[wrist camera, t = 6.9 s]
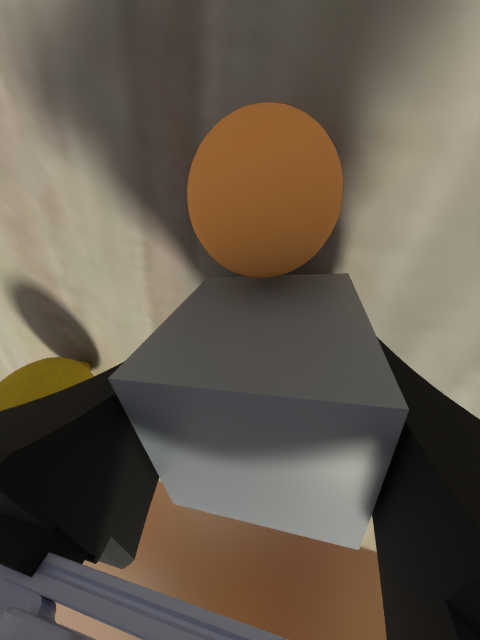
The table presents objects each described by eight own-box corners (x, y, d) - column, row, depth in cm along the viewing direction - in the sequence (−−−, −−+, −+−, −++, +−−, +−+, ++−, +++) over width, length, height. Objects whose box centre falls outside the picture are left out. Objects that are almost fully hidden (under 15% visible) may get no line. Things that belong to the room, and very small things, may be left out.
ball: (334, 276, 10) (336, 146, 9) (353, 270, 5) (362, 3, 4) (223, 281, 11) (218, 169, 11) (160, 280, 7) (143, 80, 6)
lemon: (46, 331, 19) (-95, 419, 12) (107, 343, 18) (-10, 446, 11) (71, 380, 22) (-32, 471, 15) (124, 393, 21) (40, 496, 14)
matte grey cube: (348, 273, 9) (408, 409, 4) (334, 383, 12) (358, 549, 7) (207, 277, 11) (107, 378, 5) (225, 374, 14) (173, 503, 8)
